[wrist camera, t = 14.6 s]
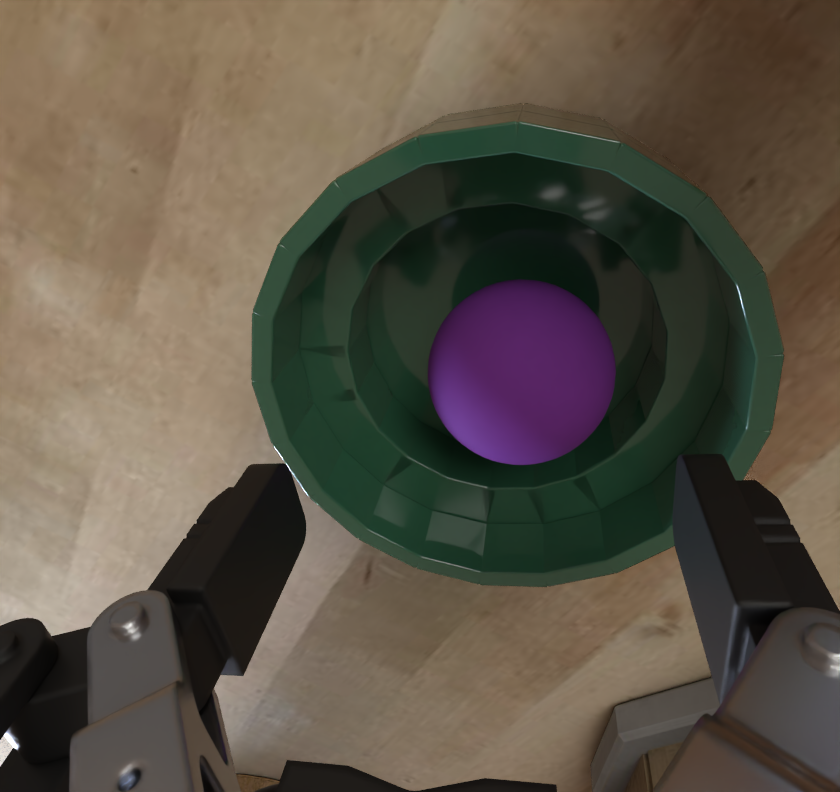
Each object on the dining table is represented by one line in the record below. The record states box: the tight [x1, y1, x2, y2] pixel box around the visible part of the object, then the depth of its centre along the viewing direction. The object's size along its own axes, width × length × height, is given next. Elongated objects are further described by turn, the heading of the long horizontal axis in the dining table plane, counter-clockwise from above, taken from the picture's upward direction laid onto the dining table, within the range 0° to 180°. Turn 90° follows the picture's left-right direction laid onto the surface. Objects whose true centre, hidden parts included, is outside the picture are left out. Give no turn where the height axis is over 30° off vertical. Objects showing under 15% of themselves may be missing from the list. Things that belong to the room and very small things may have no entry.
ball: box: [428, 279, 616, 465], centre depth 17 cm, size 5×5×5 cm
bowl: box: [251, 103, 784, 587], centre depth 17 cm, size 13×13×5 cm
